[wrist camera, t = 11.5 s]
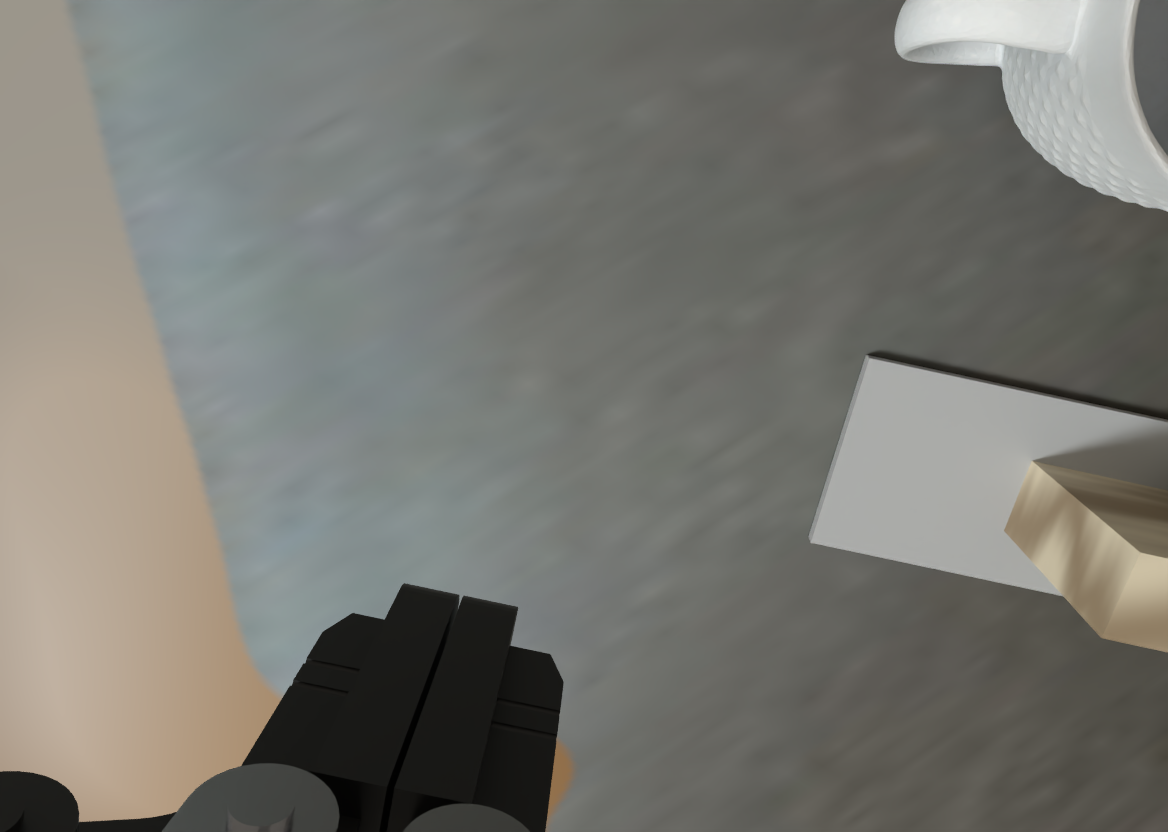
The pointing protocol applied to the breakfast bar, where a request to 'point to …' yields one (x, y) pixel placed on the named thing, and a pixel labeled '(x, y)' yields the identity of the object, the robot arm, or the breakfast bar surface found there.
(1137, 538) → the tan wooden block
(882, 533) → the board
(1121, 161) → the mug
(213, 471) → the breakfast bar surface
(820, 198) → the breakfast bar surface
